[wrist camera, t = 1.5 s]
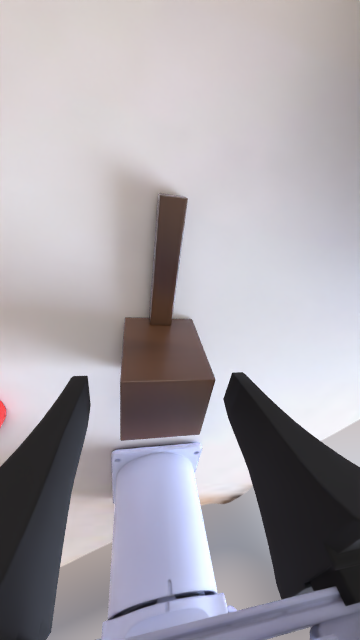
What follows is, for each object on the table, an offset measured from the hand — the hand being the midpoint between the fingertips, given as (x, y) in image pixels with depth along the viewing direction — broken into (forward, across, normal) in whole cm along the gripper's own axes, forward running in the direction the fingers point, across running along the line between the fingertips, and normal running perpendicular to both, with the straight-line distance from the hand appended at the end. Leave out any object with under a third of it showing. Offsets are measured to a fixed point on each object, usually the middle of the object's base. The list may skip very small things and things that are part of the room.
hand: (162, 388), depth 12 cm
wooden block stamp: (+4, 0, -3) cm, 5 cm away
